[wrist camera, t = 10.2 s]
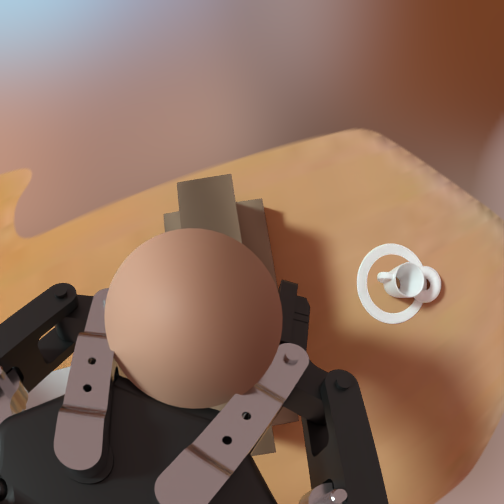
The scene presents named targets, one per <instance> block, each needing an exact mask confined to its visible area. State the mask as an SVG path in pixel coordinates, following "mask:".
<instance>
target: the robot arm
mask: <svg viewBox="0 0 504 504" xmlns="http://www.w3.org/2000/svg"><path fill="white" fill-rule="evenodd" d="M297 288H298V284H296V283H293V282H289V281H285V280H282V281H281V284H280V287H279V290H278V293H279V297H280V301H281V306H282V316H283V320H282V333H281V339H280V343H279V347H278V350H277V353H276V355H275V357H274V359H273V361H272V364H271V365H270V367H269V368H268V370H267V371H266V373H265V374H264V375H263V377H262V378H261V379H260V380H259V381H258V382H257V383H256V384H255V385H254V386H253V387H252V388H251V389H250V390H248V391H247V392H246V393H244V394H243V395H239V394H235V395H234V396H233V397H232V398H231V400H230V401H229V402H228V403H227V404H226V406H225V407H224V408H223V409H222V410H221V411H219V410H216V409H212V408H209V407H208V408H196V409H191V408H181V407H176V406H172V405H168V404H166V403H163V402H161V401H158V400H156V399H154V398H152V397H151V396H149V395H147V394H146V393H144V392H143V391H141V390H140V389H139V388H137V387H136V386H135V385H134V384H133V383H132V382H131V381H130V380H129V379H127V378H126V375H125V374H124V373H123V372H122V370H121V369H120V367H119V366H118V364H117V362H116V361H115V359H114V351H112V350H110V347H109V344H108V340H107V336H106V330H105V319H104V315H105V303H106V298H107V293H108V290H109V288H106V289H102V290H100V291H98V292H97V293H96V294H95V295H94V296H85V295H77V294H76V290H75V288H74V287H73V286H72V285H70V284H67V283H59V284H56V285H53V286H52V287H50V288H49V289H47V290H46V291H45V292H43V293H42V294H40V295H39V296H38V297H36V298H35V299H33V300H32V301H31V302H29V303H28V304H27V305H25V306H24V307H23V308H21V309H20V310H18V311H17V312H16V313H14V314H13V315H12V316H10V317H9V318H8V319H7V320H5V321H4V322H3V323H1V324H0V504H277V502H276V500H275V498H274V497H273V495H272V493H271V491H270V490H269V488H268V486H267V484H266V482H265V480H264V479H263V477H262V475H261V473H260V471H259V469H258V467H257V465H256V464H255V462H254V460H253V458H252V456H251V453H252V452H253V450H254V449H255V448H256V446H257V445H258V443H259V442H260V440H261V439H262V437H263V436H264V434H265V433H266V432H267V430H268V429H269V427H270V426H271V424H272V423H273V421H274V420H275V418H276V417H277V416H278V414H279V413H280V411H281V410H282V408H283V407H285V408H287V409H289V410H291V411H293V412H294V413H296V414H298V415H300V416H301V418H302V425H303V432H304V439H305V446H306V453H307V460H308V467H309V474H310V482H311V489H312V490H311V491H309V492H307V493H306V494H305V495H303V496H302V498H301V499H300V501H299V504H388V499H387V495H386V490H385V486H384V481H383V477H382V473H381V468H380V464H379V460H378V456H377V452H376V448H375V444H374V440H373V436H372V432H371V428H370V425H369V421H368V417H367V413H366V410H365V406H364V402H363V399H362V395H361V392H360V388H359V385H358V382H357V380H356V378H355V377H354V376H353V375H352V374H350V373H349V372H347V371H344V370H339V369H338V370H333V371H331V372H329V373H327V372H326V371H324V370H322V369H320V368H318V367H317V366H315V365H314V364H313V363H312V362H311V361H310V359H309V356H308V354H307V352H306V348H307V337H308V326H309V324H308V323H309V314H310V306H309V303H308V301H307V299H306V298H304V297H301V296H297ZM54 326H55V328H54V329H52V330H51V331H50V332H49V333H47V334H46V335H45V336H44V337H43V338H41V339H40V337H41V336H42V335H44V334H45V333H46V332H47V331H49V330H50V329H51V328H52V327H54ZM39 339H40V340H39ZM73 352H74V353H73ZM72 353H73V358H72V362H71V367H70V371H69V376H68V381H67V386H66V391H65V394H64V395H62V396H59V397H57V398H55V399H52V400H50V401H47V402H45V403H42V404H40V405H37V406H35V407H32V408H29V409H27V410H25V409H26V403H27V401H28V393H29V392H30V391H31V390H33V389H34V388H35V387H36V386H37V385H38V384H39V383H40V382H41V381H42V380H43V379H44V378H46V377H47V376H48V375H49V374H50V373H51V372H52V371H53V370H54V369H55V368H57V367H58V366H59V365H60V364H61V363H62V362H63V361H64V360H65V359H67V358H68V357H69V356H70V355H71V354H72Z"/></svg>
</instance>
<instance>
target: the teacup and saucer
mask: <svg viewBox="0 0 504 504" xmlns="http://www.w3.org/2000/svg"><path fill="white" fill-rule="evenodd" d="M388 254H396V255H400V256H402V257H404V258H405V259H407V260H408V261H409V262H406V263H403V264H401V265H399V266H397V267H396V268H394V269H392V270H391V271H390V272H380V273H379V274H378V276H377V280H378V281H379V282H381V283H383V284H384V288H385V291H386V292H387V293H388V294H389V295H391V296H393V297H397V298H410V297H414V298H415V300H414V302H413V303H412V304H411V306H410V307H409V308H407V309H406V310H404V311H402V312H399V313H387V312H384V311H382V310H381V309H379V308H378V307H377V306H376V305H375V304H374V303H373V302H372V300H371V298H370V296H369V293H368V289H367V276H368V272H369V270H370V268H371V266H372V264H373V263H374V262H375V261H376V260H377V259H378V258H380V257H382V256H384V255H388ZM396 277H397V278H398V279H399V281H400V288H399V289H398V287H397V285H396ZM427 279H428V280H429V282H430V288H429V289H428V290H427ZM357 290H358V294H359V298H360V300H361V302H362V304H363V306H364V308H365V309H366V310H367V312H368V313H369V314H370V315H371V316H373V317H374V318H375V319H377V320H379V321H381V322H384V323H388V324H397V323H402V322H404V321H407V320H408V319H410V318H411V317H413V316H414V315H415V314H416V313H417V312H418V311H419V309H420V308H421V306H422V304H423V303H427V302H431V301H433V300H434V299H435V298H436V297H437V296H438V295H439V293H440V290H441V279H440V276H439V274H438V273H437V271H436V270H435V269H433V268H431V267H429V266H423V265H422V263H421V262H420V260H419V259H418V257H417V256H416V255H415V254H414V253H413V252H412V251H411V250H409V249H408V248H406V247H404V246H401V245H398V244H384V245H380V246H378V247H376V248H374V249H373V250H371V251H370V252H369V253H368V254H367V255H366V256H365V258H364V259H363V261H362V263H361V265H360V268H359V271H358V276H357Z"/></svg>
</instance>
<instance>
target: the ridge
mask: <svg viewBox="0 0 504 504" xmlns="http://www.w3.org/2000/svg"><path fill="white" fill-rule="evenodd" d="M177 190H178V201H179V211H178V212H172V213H167V214H164V225H165V232H168V231H172V230H177V229H186V228H199V229H206V230H212V231H215V232H219V233H222V234H225V235H227V236H229V237H231V238H234V239H235V240H237V241H238V242H240V243H242V244H243V245H245V246H246V247H247V248H248V249H250V250H251V251H252V252H253V253H254V254H255V255H256V256H257V257H258V258H259V259H260V260H261V261H262V263H263V264H264V265H265V267H266V268H267V270H268V271H269V273H270V275H271V277H272V278H273V280H274V282H275V285H276V288H277V290H278V287H277V281H276V276H275V270H274V264H273V258H272V252H271V247H270V241H269V235H268V230H267V224H266V218H265V213H264V207H263V202H262V199H255V200H248V201H241V202H235V195H234V189H233V182H232V176H231V174H227V175H221V176H214V177H208V178H202V179H196V180H190V181H184V182H178V183H177ZM227 403H228V402H227ZM227 403H224V404H221V405H218V406H214V407H209V408H212V409H216V410H219V411H221V410H222V409H223V408H224V407H225V406H226V404H227ZM295 421H299V419H298V414H296V413H294V412H293V411H291V410H289V409H287V408H285V407H283V408H282V410H281V411H280V413H279V414H278V416H277V417H276V418H275V420H274V421H273V423H272V424H271V426H270V427H269V429H268V430H267V432H266V433H265V434H264V436H263V437H262V439H261V440H260V442H259V443H258V445H257V446H256V448H255V449H254V450H253V452H252V453H251V456H255V455H262V454H268V453H274V452H276V449H275V443H274V437H273V431H272V426H273V425H279V424H285V423H290V422H295Z"/></svg>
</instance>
